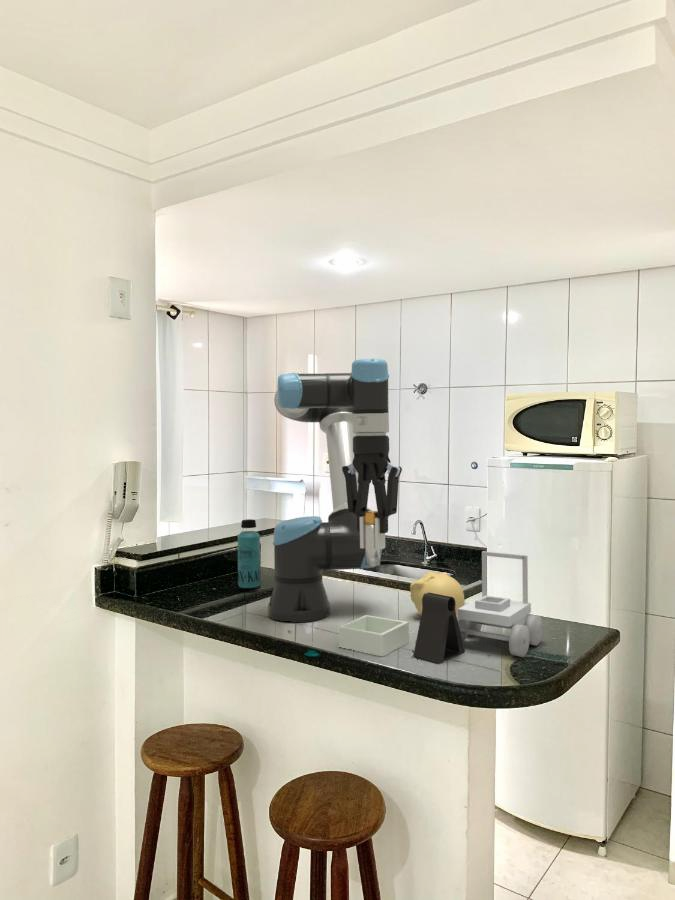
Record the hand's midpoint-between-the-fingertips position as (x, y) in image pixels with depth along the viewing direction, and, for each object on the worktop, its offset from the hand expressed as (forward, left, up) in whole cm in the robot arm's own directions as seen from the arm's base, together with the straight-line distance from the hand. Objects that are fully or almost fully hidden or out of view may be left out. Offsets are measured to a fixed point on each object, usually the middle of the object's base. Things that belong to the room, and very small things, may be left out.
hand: (372, 547), depth 144 cm
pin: (0, 0, -3) cm, 3 cm away
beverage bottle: (-55, +23, -21) cm, 63 cm away
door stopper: (+14, +2, -21) cm, 25 cm away
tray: (0, 0, -20) cm, 20 cm away
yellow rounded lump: (+2, +26, -21) cm, 33 cm away
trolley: (+21, +14, -20) cm, 32 cm away
